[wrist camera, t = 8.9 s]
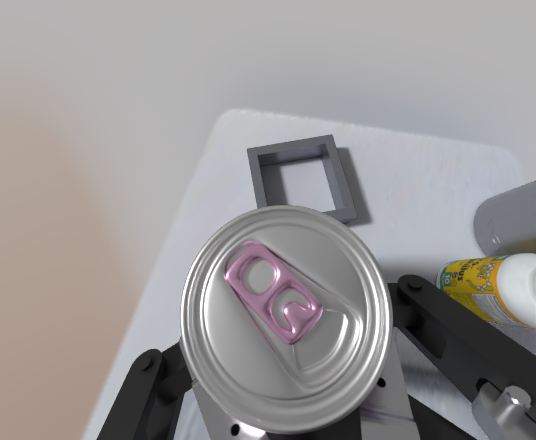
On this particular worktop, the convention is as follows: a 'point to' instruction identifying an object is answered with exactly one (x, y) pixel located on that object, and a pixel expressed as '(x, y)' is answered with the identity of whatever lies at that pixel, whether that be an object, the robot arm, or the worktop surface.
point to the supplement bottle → (494, 287)
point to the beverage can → (286, 319)
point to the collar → (305, 150)
